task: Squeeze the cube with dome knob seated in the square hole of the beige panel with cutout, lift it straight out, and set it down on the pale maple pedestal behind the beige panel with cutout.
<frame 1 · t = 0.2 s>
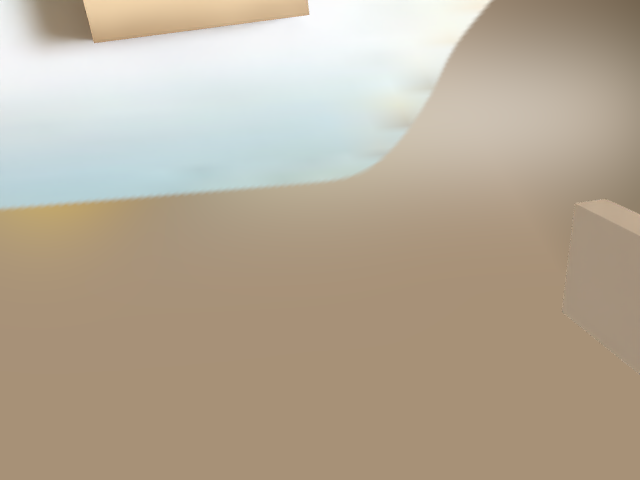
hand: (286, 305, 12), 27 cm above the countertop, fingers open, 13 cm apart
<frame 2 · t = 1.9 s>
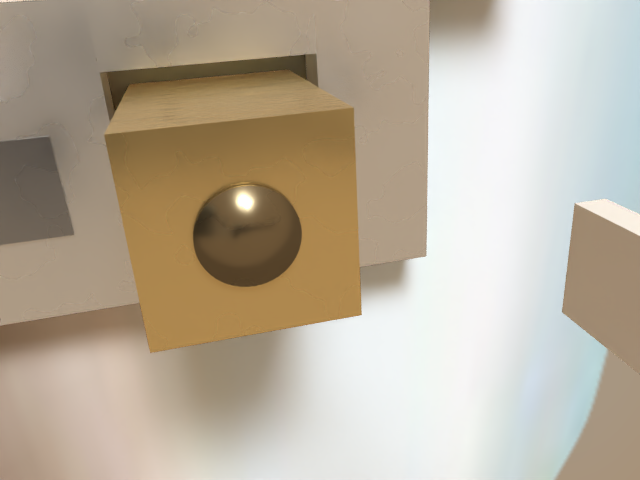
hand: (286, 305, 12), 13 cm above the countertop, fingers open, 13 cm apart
cube with dome knob: (220, 153, 23), resting in beige panel with cutout
beige panel with cutout: (141, 150, 22), on the countertop
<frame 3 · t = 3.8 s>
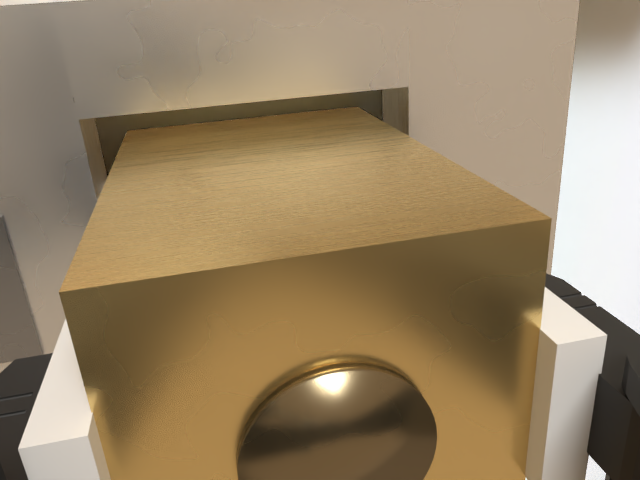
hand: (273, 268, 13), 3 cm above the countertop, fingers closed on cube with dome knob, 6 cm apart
cube with dome knob: (258, 225, 16), resting in beige panel with cutout, touching gripper
beige panel with cutout: (145, 222, 15), on the countertop
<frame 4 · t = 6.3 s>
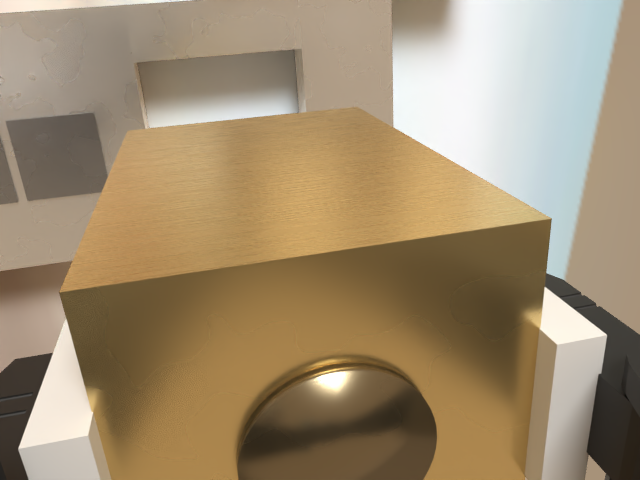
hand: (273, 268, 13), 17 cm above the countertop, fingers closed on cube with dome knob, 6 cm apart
cube with dome knob: (258, 225, 16), point 14 cm above the countertop, touching gripper
beige panel with cutout: (163, 126, 28), on the countertop
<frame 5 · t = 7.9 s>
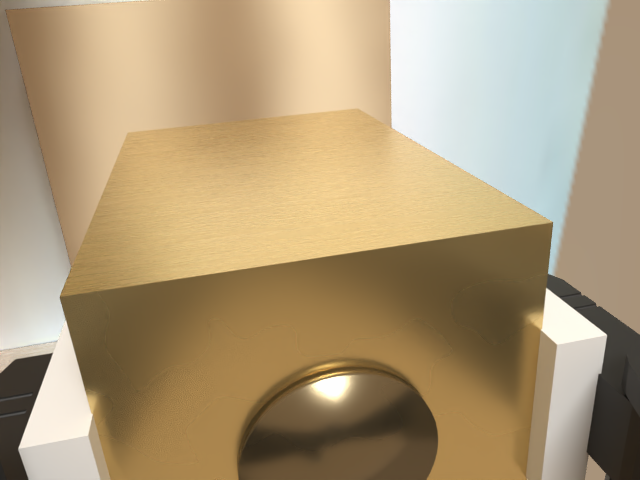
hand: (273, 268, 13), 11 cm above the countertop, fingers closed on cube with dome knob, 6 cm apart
pedestal: (225, 158, 23), on the countertop
cube with dome knob: (258, 226, 16), point 8 cm above the countertop, touching gripper
beige panel with cutout: (63, 446, 26), on the countertop
when the fingers open (7 cm above the countertop, at t = 9.0 s): cube with dome knob drops 1 cm, resting on pedestal.
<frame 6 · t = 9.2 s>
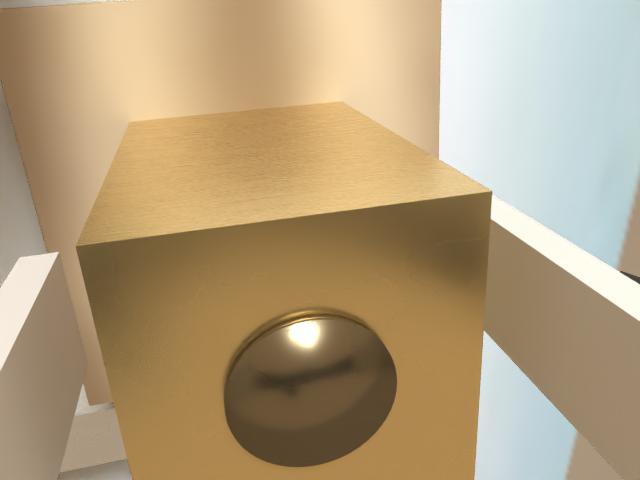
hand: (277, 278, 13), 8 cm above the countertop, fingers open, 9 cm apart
pedestal: (243, 181, 20), on the countertop
cube with dome knob: (250, 210, 17), point 3 cm above the countertop, touching pedestal
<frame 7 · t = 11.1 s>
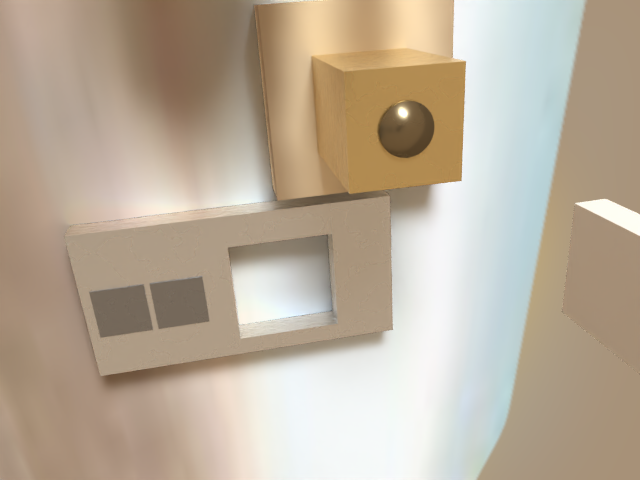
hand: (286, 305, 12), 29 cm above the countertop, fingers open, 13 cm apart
pedestal: (351, 93, 39), on the countertop
cube with dome knob: (361, 101, 37), point 3 cm above the countertop, touching pedestal
beige panel with cutout: (241, 275, 43), on the countertop
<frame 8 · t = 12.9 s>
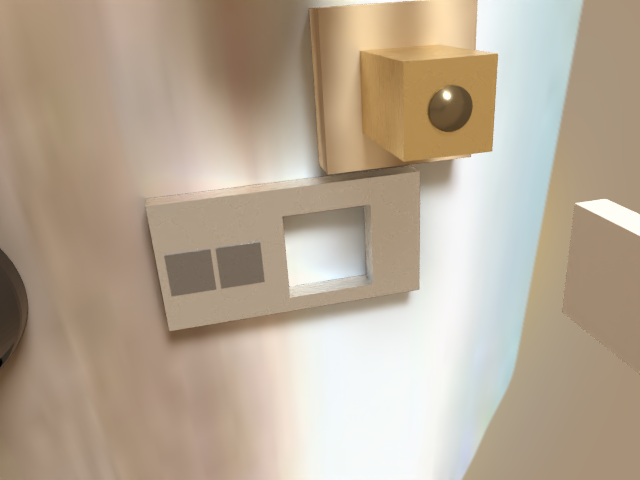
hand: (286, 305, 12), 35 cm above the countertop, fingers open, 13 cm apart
pedestal: (387, 83, 46), on the countertop
cube with dome knob: (399, 89, 43), point 3 cm above the countertop, touching pedestal
beige panel with cutout: (290, 242, 49), on the countertop
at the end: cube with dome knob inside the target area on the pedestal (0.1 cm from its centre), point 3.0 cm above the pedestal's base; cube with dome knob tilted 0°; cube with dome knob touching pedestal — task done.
